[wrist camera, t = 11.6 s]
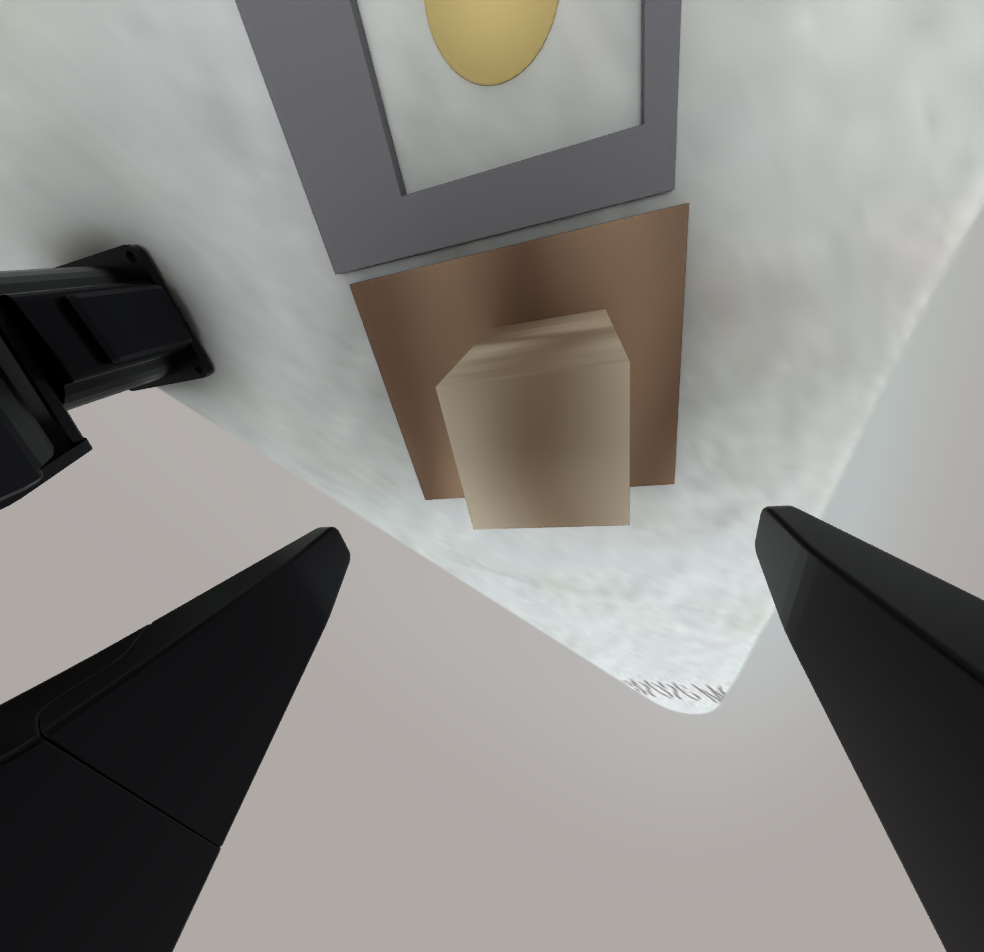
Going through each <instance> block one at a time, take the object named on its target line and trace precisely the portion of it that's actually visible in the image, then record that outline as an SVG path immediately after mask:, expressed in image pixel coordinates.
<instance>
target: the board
mask: <svg viewBox="0 0 984 952" xmlns="http://www.w3.org/2000/svg"><path fill="white" fill-rule="evenodd" d="M688 214H689V203H686V204H682V205H678V206H674V207H669V208H665V209H661V210H657V211H653V212H649V213H644V214H640V215H636V216H632V217H628V218H624V219H620V220H615V221H611V222H607V223H603V224H599V225H595V226H590V227H586V228H582V229H578V230H574V231H570V232H565V233H561V234H557V235H553V236H549V237H545V238H540V239H536V240H532V241H528V242H524V243H520V244H516V245H511V246H507V247H503V248H499V249H495V250H491V251H486V252H482V253H478V254H474V255H470V256H466V257H461V258H457V259H453V260H449V261H445V262H441V263H437V264H432V265H428V266H424V267H420V268H416V269H412V270H407V271H403V272H399V273H395V274H391V275H387V276H382V277H378V278H374V279H370V280H366V281H362V282H358V283H353V284H349V285H350V288H351V291H352V294H353V296H354V299H355V302H356V305H357V308H358V311H359V313H360V316H361V319H362V322H363V325H364V328H365V330H366V333H367V336H368V339H369V342H370V344H371V347H372V350H373V353H374V356H375V359H376V361H377V364H378V367H379V370H380V373H381V376H382V378H383V381H384V384H385V387H386V390H387V393H388V395H389V398H390V401H391V404H392V407H393V410H394V412H395V415H396V418H397V421H398V424H399V427H400V429H401V432H402V435H403V438H404V441H405V444H406V446H407V449H408V452H409V455H410V458H411V460H412V463H413V466H414V469H415V472H416V475H417V477H418V480H419V483H420V486H421V489H422V492H423V494H424V497H425V500H432V499H447V498H463V497H465V495H464V492H463V488H462V484H461V480H460V477H459V473H458V469H457V465H456V462H455V458H454V454H453V451H452V447H451V443H450V439H449V436H448V432H447V428H446V424H445V421H444V417H443V413H442V409H441V406H440V402H439V398H438V395H437V391H436V386H437V385H438V384H439V383H440V382H441V381H442V380H443V378H444V377H445V376H446V375H447V374H448V373H449V372H450V371H451V370H452V369H453V368H454V367H455V366H456V364H457V363H458V362H459V361H460V360H461V359H462V358H463V357H464V356H465V355H466V354H467V353H468V351H469V350H470V349H471V348H472V347H473V346H474V345H475V344H476V343H477V342H478V341H479V340H480V338H481V337H482V336H483V335H484V334H485V333H486V332H487V331H488V330H489V329H490V328H495V327H501V326H507V325H513V324H519V323H525V322H531V321H537V320H543V319H549V318H555V317H561V316H567V315H573V314H579V313H585V312H591V311H597V310H603V309H606V311H607V313H608V316H609V318H610V320H611V322H612V324H613V326H614V329H615V331H616V333H617V335H618V337H619V339H620V341H621V344H622V346H623V348H624V350H625V352H626V354H627V357H628V359H629V361H630V487H634V486H650V485H665V484H674V479H675V460H676V441H677V422H678V403H679V384H680V366H681V347H682V328H683V309H684V290H685V271H686V252H687V233H688Z"/></svg>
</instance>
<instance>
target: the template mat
mask: <svg viewBox="0 0 984 952" xmlns="http://www.w3.org/2000/svg"><path fill="white" fill-rule="evenodd" d="M235 2H236V4H237V7H238V10H239V13H240V15H241V18H242V21H243V24H244V26H245V29H246V32H247V34H248V37H249V40H250V43H251V45H252V48H253V51H254V54H255V56H256V59H257V62H258V65H259V67H260V70H261V73H262V75H263V78H264V81H265V84H266V86H267V89H268V92H269V95H270V97H271V100H272V103H273V106H274V108H275V111H276V114H277V116H278V119H279V122H280V125H281V127H282V130H283V133H284V136H285V138H286V141H287V144H288V147H289V149H290V152H291V155H292V157H293V160H294V163H295V166H296V168H297V171H298V174H299V177H300V179H301V182H302V185H303V188H304V190H305V193H306V196H307V198H308V201H309V204H310V207H311V209H312V212H313V215H314V218H315V220H316V223H317V226H318V228H319V231H320V234H321V237H322V239H323V242H324V245H325V248H326V250H327V253H328V256H329V259H330V261H331V264H332V267H333V269H334V272H335V275H336V274H342V273H346V272H350V271H354V270H358V269H362V268H366V267H370V266H374V265H378V264H382V263H386V262H390V261H394V260H398V259H402V258H406V257H410V256H414V255H418V254H422V253H426V252H430V251H434V250H438V249H442V248H446V247H450V246H454V245H458V244H462V243H466V242H470V241H474V240H478V239H482V238H486V237H490V236H494V235H498V234H502V233H506V232H510V231H514V230H518V229H522V228H526V227H530V226H534V225H538V224H542V223H546V222H550V221H554V220H558V219H562V218H566V217H570V216H574V215H578V214H582V213H586V212H590V211H594V210H598V209H602V208H606V207H610V206H614V205H618V204H622V203H626V202H630V201H634V200H638V199H642V198H645V197H649V196H653V195H657V194H661V193H665V192H669V191H672V190H674V188H675V160H676V132H677V105H678V77H679V50H680V22H681V0H642V125H639V126H636V127H632V128H629V129H626V130H622V131H619V132H616V133H612V134H609V135H606V136H602V137H599V138H596V139H592V140H589V141H586V142H582V143H579V144H576V145H572V146H569V147H565V148H562V149H559V150H555V151H552V152H549V153H545V154H542V155H539V156H535V157H532V158H529V159H525V160H522V161H519V162H515V163H512V164H509V165H505V166H502V167H498V168H495V169H492V170H488V171H485V172H482V173H478V174H475V175H472V176H468V177H465V178H462V179H458V180H455V181H452V182H448V183H445V184H441V185H438V186H435V187H431V188H428V189H425V190H421V191H418V192H415V193H411V194H408V195H406V193H405V189H404V185H403V181H402V177H401V173H400V169H399V165H398V162H397V158H396V154H395V150H394V146H393V142H392V138H391V134H390V130H389V127H388V123H387V119H386V115H385V111H384V107H383V103H382V99H381V95H380V91H379V88H378V84H377V80H376V76H375V72H374V68H373V64H372V60H371V56H370V53H369V49H368V45H367V41H366V37H365V33H364V29H363V25H362V21H361V17H360V14H359V10H358V6H357V2H356V0H235ZM424 3H425V10H426V15H427V19H428V23H429V27H430V30H431V33H432V36H433V38H434V41H435V43H436V45H437V47H438V49H439V51H440V52H441V54H442V56H443V57H444V59H445V60H446V61H447V63H448V64H449V65H450V67H451V68H452V69H453V70H454V71H455V72H456V73H458V74H459V75H460V76H462V77H463V78H465V79H467V80H468V81H470V82H473V83H476V84H480V85H496V84H500V83H504V82H506V81H508V80H510V79H512V78H514V77H515V76H517V75H518V74H520V73H521V72H522V71H523V70H524V69H525V68H526V67H527V66H528V65H529V64H530V63H531V62H532V60H533V59H534V58H535V56H536V55H537V54H538V52H539V51H540V49H541V47H542V45H543V44H544V42H545V40H546V38H547V35H548V33H549V31H550V28H551V26H552V22H553V19H554V16H555V13H556V8H557V4H558V0H424Z"/></svg>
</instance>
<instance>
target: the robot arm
mask: <svg viewBox="0 0 984 952" xmlns="http://www.w3.org/2000/svg"><path fill="white" fill-rule="evenodd" d="M135 257H136V258H135ZM201 368H202V369H201ZM211 374H212V367H211V365H210V363H209V361H208V360H207V358H206V356H205V355H204V353H203V351H202V349H201V348H200V346H199V344H198V342H197V341H196V339H195V337H194V335H193V334H192V332H191V330H190V329H189V327H188V325H187V323H186V322H185V320H184V318H183V316H182V315H181V313H180V311H179V310H178V308H177V306H176V304H175V303H174V301H173V299H172V297H171V296H170V294H169V292H168V290H167V289H166V287H165V285H164V284H163V282H162V280H161V278H160V277H159V275H158V273H157V271H156V270H155V268H154V266H153V265H152V263H151V261H150V259H149V258H148V256H147V254H146V253H145V251H144V250H143V249H142V248H141V247H139V246H137V245H122V246H119V247H116V248H113V249H110V250H107V251H104V252H101V253H98V254H95V255H92V256H89V257H86V258H83V259H80V260H77V261H74V262H71V263H68V264H65V265H62V266H59V267H56V268H50V269H32V270H15V271H0V509H3V508H5V507H7V506H9V505H11V504H12V503H14V502H16V501H17V500H19V499H21V498H22V497H24V496H25V495H27V494H28V493H29V492H31V491H32V490H34V489H35V488H37V487H38V486H40V485H41V484H43V483H44V482H45V481H47V480H48V479H50V478H51V477H53V476H54V475H56V474H57V473H59V472H60V471H61V470H63V469H64V468H66V467H67V466H69V465H70V464H72V463H73V462H75V461H76V460H77V459H79V458H80V457H82V456H83V455H85V454H86V453H87V452H89V451H90V450H92V446H91V445H90V443H89V441H88V440H87V438H84V437H83V436H82V435H81V433H80V431H79V430H78V428H77V426H76V425H75V423H74V421H73V420H72V418H71V417H70V415H69V413H68V412H67V410H70V409H73V408H75V407H79V406H82V405H84V404H88V403H90V402H93V401H96V400H99V399H102V398H105V397H108V396H111V395H114V394H117V393H120V392H123V391H126V390H131V391H136V390H141V389H146V388H152V387H157V386H162V385H168V384H173V383H178V382H184V381H189V380H194V379H200V378H204V377H207V376H209V375H211ZM755 549H756V554H757V557H758V559H759V562H760V565H761V568H762V570H763V573H764V576H765V579H766V581H767V584H768V587H769V590H770V592H771V595H772V598H773V601H774V603H775V606H776V609H777V611H778V614H779V617H780V620H781V622H782V625H783V627H784V630H785V632H786V634H787V636H788V639H789V640H790V643H791V645H792V647H793V649H794V651H795V653H796V655H797V657H798V659H799V661H800V663H801V665H802V667H803V669H804V670H805V673H806V675H807V677H808V678H809V680H810V682H811V684H812V686H813V688H814V690H815V692H816V694H817V696H818V698H819V700H820V702H821V704H822V706H823V708H824V710H825V712H826V714H827V716H828V718H829V720H830V722H831V724H832V726H833V728H834V730H835V732H836V734H837V736H838V738H839V740H840V742H841V744H842V746H843V748H844V750H845V752H846V754H847V756H848V758H849V760H850V761H851V763H852V766H853V768H854V770H855V772H856V774H857V776H858V777H859V779H860V781H861V783H862V785H863V787H864V789H865V791H866V793H867V795H868V797H869V799H870V801H871V803H872V805H873V807H874V809H875V811H876V813H877V815H878V817H879V819H880V821H881V823H882V825H883V827H884V829H885V831H886V833H887V835H888V837H889V839H890V841H891V843H892V845H893V847H894V849H895V851H896V853H897V854H898V857H899V859H900V861H901V863H902V864H903V867H904V868H905V870H906V872H907V874H908V876H909V878H910V880H911V882H912V884H913V886H914V888H915V890H916V892H917V894H918V896H919V898H920V900H921V902H922V904H923V906H924V908H925V910H926V912H927V914H928V916H929V918H930V920H931V922H932V924H933V926H934V928H935V930H936V932H937V934H938V936H939V938H940V940H941V942H942V944H943V945H944V948H945V950H946V952H984V600H982V599H980V598H978V597H976V596H974V595H972V594H970V593H968V592H966V591H964V590H962V589H960V588H958V587H955V586H954V585H952V584H949V583H948V582H946V581H943V580H941V579H939V578H937V577H935V576H933V575H931V574H929V573H927V572H925V571H923V570H921V569H919V568H917V567H915V566H913V565H911V564H909V563H907V562H905V561H903V560H901V559H899V558H897V557H895V556H893V555H891V554H889V553H887V552H884V551H882V550H881V549H879V548H877V547H875V546H873V545H870V544H868V543H866V542H864V541H862V540H860V539H858V538H856V537H854V536H852V535H850V534H848V533H846V532H844V531H842V530H840V529H838V528H836V527H834V526H832V525H830V524H828V523H826V522H824V521H822V520H820V519H818V518H816V517H814V516H812V515H810V514H808V513H806V512H804V511H802V510H799V509H797V508H795V507H793V506H768V507H766V508H764V509H763V510H762V512H761V515H760V520H759V525H758V530H757V535H756V540H755ZM349 562H350V552H349V550H348V548H347V546H346V544H345V542H344V540H343V538H342V536H341V534H340V532H339V531H338V530H337V529H336V528H335V527H320V528H317V529H315V530H313V531H311V532H310V533H308V534H306V535H304V536H303V537H301V538H299V539H297V540H296V541H294V542H292V543H290V544H289V545H287V546H285V547H284V548H282V549H280V550H278V551H276V552H274V553H273V554H271V555H269V556H267V557H266V558H264V559H262V560H261V561H259V562H257V563H255V564H253V565H252V566H250V567H249V568H246V569H245V570H243V571H241V572H239V573H238V574H236V575H234V576H232V577H231V578H229V579H227V580H225V581H224V582H222V583H220V584H218V585H217V586H215V587H213V588H211V589H210V590H208V591H206V592H204V593H203V594H201V595H199V596H197V597H196V598H194V599H192V600H190V601H189V602H187V603H185V604H183V605H182V606H180V607H178V608H177V609H175V610H173V611H171V612H169V613H167V614H166V615H164V616H162V617H160V618H159V619H157V620H155V621H154V622H152V624H151V625H146V626H145V627H143V628H141V629H139V630H138V631H136V632H134V633H132V634H131V635H129V636H127V637H125V638H123V639H122V640H120V641H118V642H116V643H115V644H113V645H111V646H109V647H107V648H106V649H104V650H102V651H100V652H98V653H97V654H95V655H93V656H91V657H89V658H88V659H86V660H84V661H82V662H80V663H78V664H76V665H74V666H72V667H71V668H69V669H67V670H65V671H63V672H61V673H60V674H58V675H56V676H54V677H52V678H50V679H48V680H46V681H44V682H43V683H41V684H39V685H37V686H35V687H33V688H31V689H29V690H28V691H25V692H23V693H22V694H20V695H18V696H16V697H14V698H12V699H10V700H8V701H7V702H5V703H3V704H1V705H0V952H173V949H174V948H175V945H176V943H177V941H178V939H179V937H180V935H181V933H182V931H183V928H184V926H185V924H186V922H187V920H188V918H189V916H190V914H191V911H192V909H193V907H194V905H195V903H196V901H197V899H198V896H199V894H200V892H201V890H202V888H203V886H204V884H205V882H206V880H207V877H208V875H209V873H210V871H211V869H212V867H213V864H214V862H215V860H216V858H217V856H218V854H219V852H220V849H221V848H220V847H221V846H222V845H223V843H224V840H225V838H226V836H227V834H228V832H229V830H230V828H231V826H232V823H233V821H234V819H235V817H236V815H237V813H238V811H239V809H240V806H241V804H242V802H243V800H244V798H245V796H246V794H247V792H248V789H249V787H250V785H251V783H252V781H253V779H254V777H255V775H256V773H257V770H258V768H259V766H260V764H261V762H262V760H263V758H264V756H265V753H266V751H267V749H268V747H269V745H270V743H271V741H272V739H273V736H274V734H275V732H276V730H277V728H278V726H279V724H280V721H281V719H282V717H283V715H284V713H285V711H286V709H287V707H288V705H289V702H290V700H291V698H292V696H293V694H294V692H295V690H296V687H297V686H298V683H299V681H300V679H301V677H302V675H303V673H304V671H305V669H306V666H307V664H308V662H309V660H310V658H311V656H312V654H313V652H314V649H315V647H316V645H317V643H318V641H319V639H320V637H321V635H322V632H323V630H324V628H325V626H326V624H327V621H328V619H329V617H330V614H331V611H332V609H333V606H334V603H335V601H336V598H337V595H338V592H339V590H340V587H341V584H342V581H343V579H344V576H345V573H346V570H347V568H348V565H349Z"/></svg>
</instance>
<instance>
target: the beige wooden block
mask: <svg viewBox="0 0 984 952" xmlns="http://www.w3.org/2000/svg"><path fill="white" fill-rule="evenodd" d="M436 391H437V395H438V398H439V402H440V406H441V409H442V413H443V417H444V421H445V424H446V428H447V432H448V436H449V439H450V443H451V447H452V451H453V454H454V458H455V462H456V465H457V469H458V473H459V477H460V480H461V484H462V488H463V492H464V495H465V499H466V503H467V507H468V510H469V514H470V518H471V521H472V525H473V529H505V528H542V527H579V526H617V525H629V520H630V361H629V359H628V357H627V354H626V352H625V350H624V348H623V346H622V344H621V341H620V339H619V337H618V335H617V333H616V331H615V329H614V326H613V324H612V322H611V320H610V318H609V316H608V313H607V311H606V309H603V310H597V311H591V312H585V313H579V314H573V315H567V316H561V317H555V318H549V319H543V320H537V321H531V322H525V323H519V324H513V325H507V326H501V327H495V328H490V329H489V330H488V331H487V332H486V333H485V334H484V335H483V336H482V337H481V338H480V340H479V341H478V342H477V343H476V344H475V345H474V346H473V347H472V348H471V349H470V350H469V351H468V353H467V354H466V355H465V356H464V357H463V358H462V359H461V360H460V361H459V362H458V363H457V364H456V366H455V367H454V368H453V369H452V370H451V371H450V372H449V373H448V374H447V375H446V376H445V377H444V378H443V380H442V381H441V382H440V383H439V384H438V385H437V386H436Z"/></svg>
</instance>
